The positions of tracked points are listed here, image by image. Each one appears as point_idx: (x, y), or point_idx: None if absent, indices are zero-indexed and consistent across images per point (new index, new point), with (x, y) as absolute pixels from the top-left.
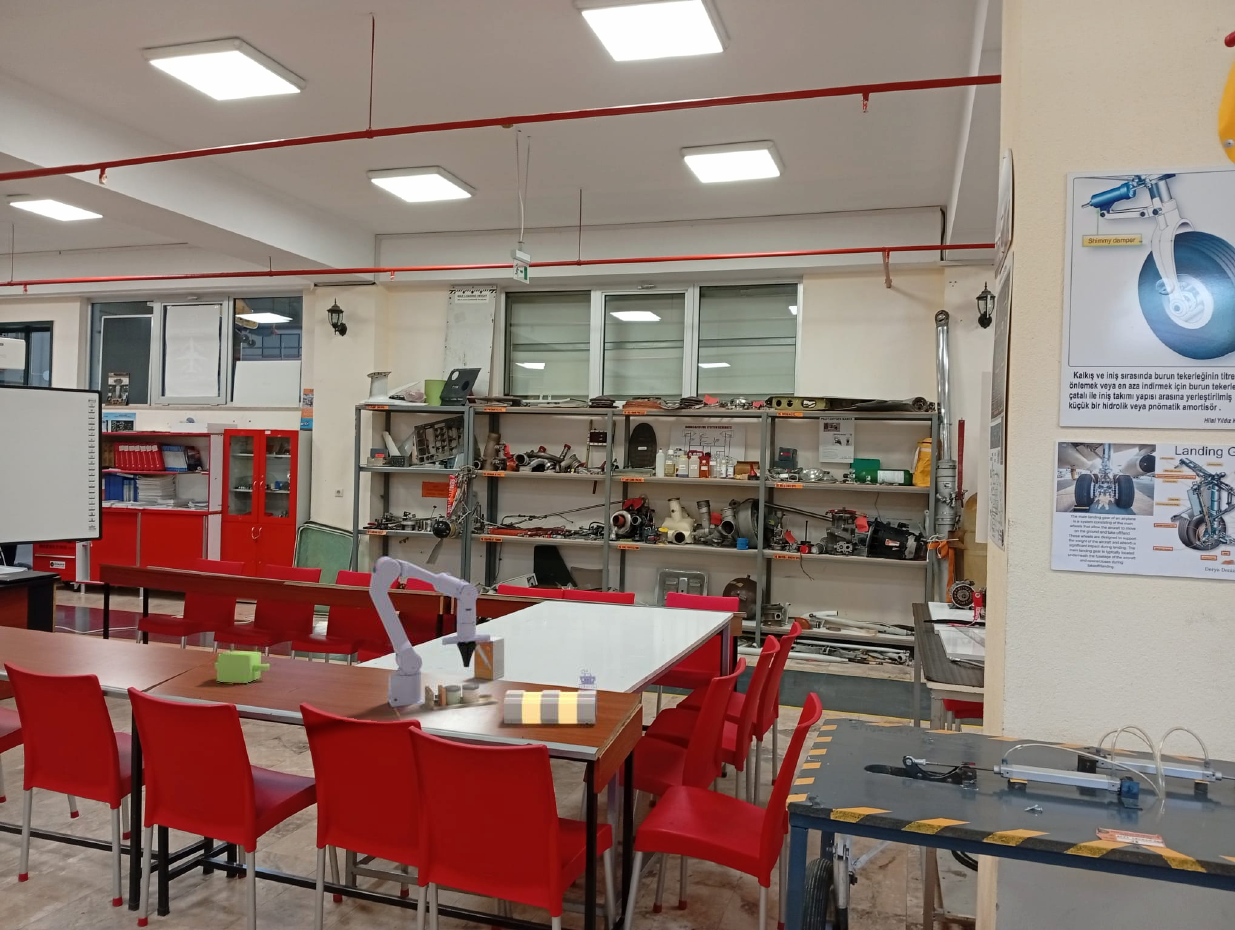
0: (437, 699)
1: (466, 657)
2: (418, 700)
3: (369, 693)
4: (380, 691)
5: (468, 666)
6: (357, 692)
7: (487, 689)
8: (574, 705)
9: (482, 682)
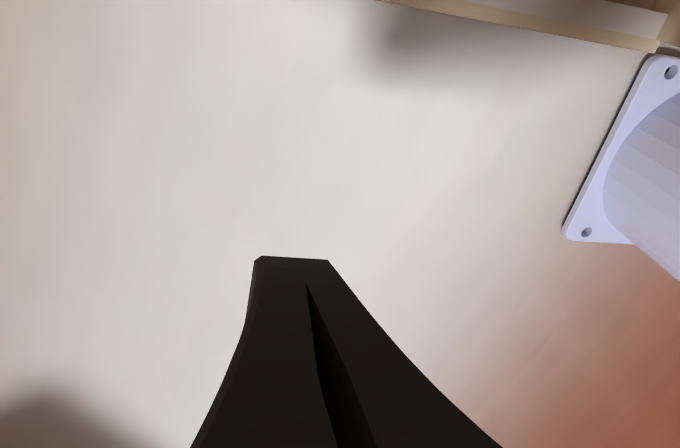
0: (594, 14)
1: (357, 372)
2: (678, 101)
3: (658, 398)
4: (605, 411)
5: (271, 261)
6: (676, 423)
7: (16, 245)
8: None
9: (29, 419)
